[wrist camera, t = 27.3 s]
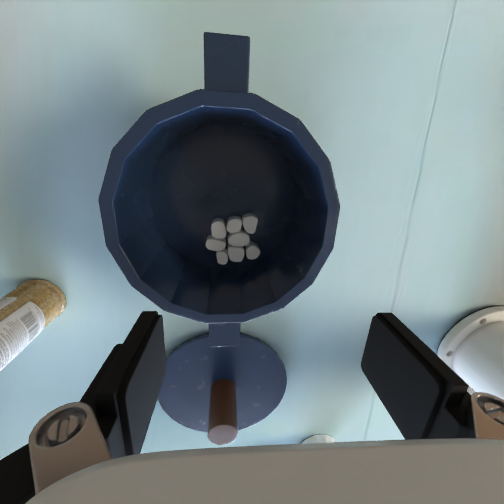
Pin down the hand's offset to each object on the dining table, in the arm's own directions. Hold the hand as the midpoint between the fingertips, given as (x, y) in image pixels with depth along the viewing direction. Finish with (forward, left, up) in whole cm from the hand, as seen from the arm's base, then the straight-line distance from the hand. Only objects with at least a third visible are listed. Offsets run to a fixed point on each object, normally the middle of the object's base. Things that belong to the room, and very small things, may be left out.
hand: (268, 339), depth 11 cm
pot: (+2, -3, -15) cm, 16 cm away
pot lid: (+2, +19, -14) cm, 24 cm away
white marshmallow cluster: (+1, -3, -14) cm, 14 cm away
